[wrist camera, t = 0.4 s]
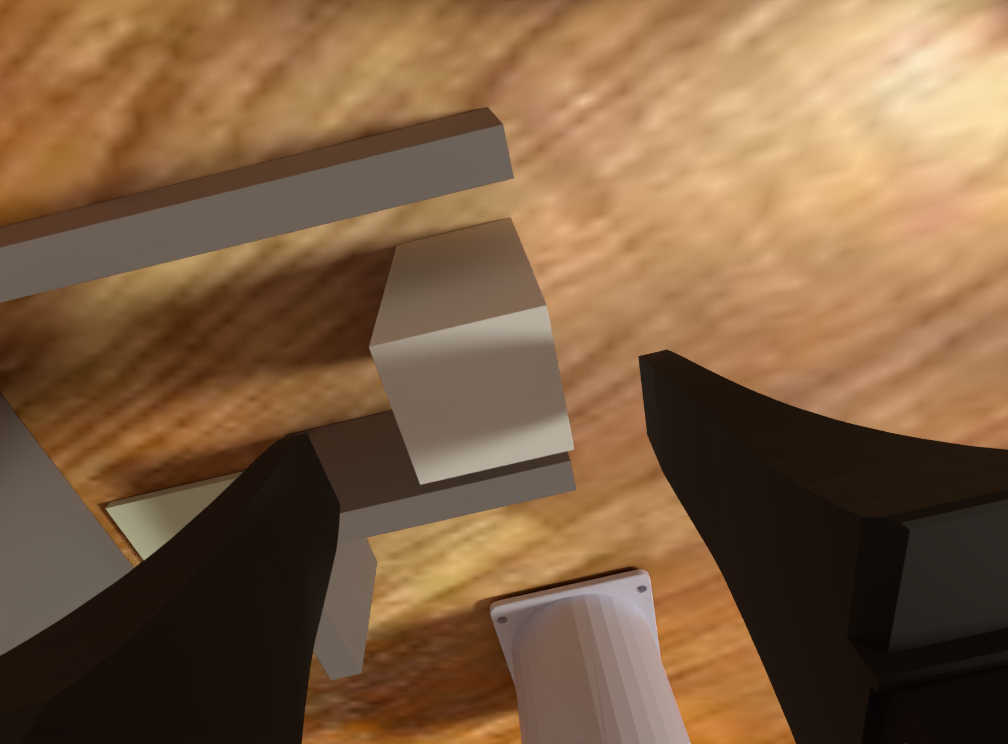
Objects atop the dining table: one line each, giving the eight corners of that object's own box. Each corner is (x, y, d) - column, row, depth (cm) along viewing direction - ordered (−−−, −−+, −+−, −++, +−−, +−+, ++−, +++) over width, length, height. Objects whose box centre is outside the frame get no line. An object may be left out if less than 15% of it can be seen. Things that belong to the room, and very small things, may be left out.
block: (532, 322, 21) (574, 449, 14) (428, 346, 21) (420, 484, 14) (510, 217, 19) (546, 304, 12) (397, 244, 20) (368, 346, 13)
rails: (573, 517, 26) (602, 620, 21) (141, 615, 27) (73, 737, 22) (487, 107, 18) (503, 124, 13) (-143, 262, 18) (-355, 334, 13)
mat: (334, 579, 27) (333, 586, 26) (191, 612, 27) (187, 619, 27) (274, 463, 23) (271, 470, 23) (110, 501, 24) (105, 508, 23)
